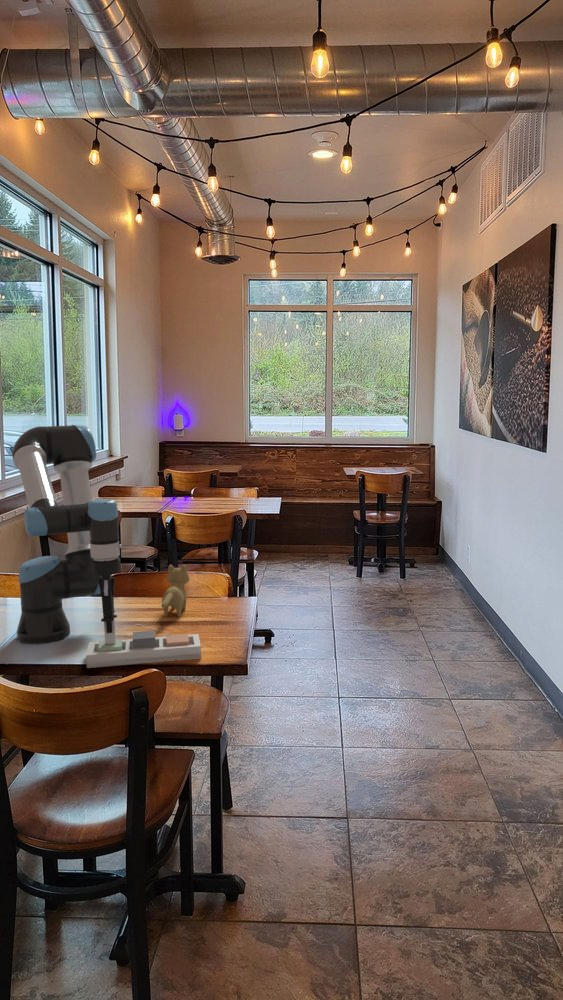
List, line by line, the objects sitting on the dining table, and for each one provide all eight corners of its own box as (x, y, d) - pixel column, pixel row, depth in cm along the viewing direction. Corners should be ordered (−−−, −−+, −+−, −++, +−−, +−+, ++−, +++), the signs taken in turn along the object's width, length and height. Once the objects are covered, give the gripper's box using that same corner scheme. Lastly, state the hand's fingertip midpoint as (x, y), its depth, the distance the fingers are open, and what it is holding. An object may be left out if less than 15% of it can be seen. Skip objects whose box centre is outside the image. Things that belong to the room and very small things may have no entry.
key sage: (98, 657, 186) (98, 648, 185) (100, 649, 192) (99, 640, 191) (121, 655, 187) (121, 646, 186) (122, 647, 193) (122, 638, 192)
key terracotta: (167, 651, 189) (166, 643, 189) (166, 643, 195) (166, 635, 194) (189, 649, 190) (189, 641, 190) (188, 642, 196) (187, 633, 196)
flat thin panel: (147, 641, 203) (115, 631, 212) (147, 642, 203) (115, 632, 212) (170, 633, 210) (138, 623, 219) (170, 634, 210) (138, 625, 219)
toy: (193, 604, 239) (191, 561, 237) (175, 627, 215) (173, 580, 213) (172, 603, 240) (170, 561, 237) (152, 627, 216) (150, 579, 213)
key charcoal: (132, 647, 187) (132, 639, 187) (133, 640, 193) (133, 632, 193) (155, 646, 188) (155, 637, 188) (155, 638, 194) (155, 630, 194)
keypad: (86, 668, 184) (86, 655, 183) (90, 654, 193) (89, 642, 193) (201, 658, 189) (200, 646, 188) (198, 645, 199) (198, 633, 198)
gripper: (119, 562, 180) (123, 650, 183) (121, 551, 192) (125, 633, 196) (89, 564, 178) (94, 652, 182) (93, 553, 191) (97, 636, 194)
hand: (110, 642), depth 189 cm, fingers closed
